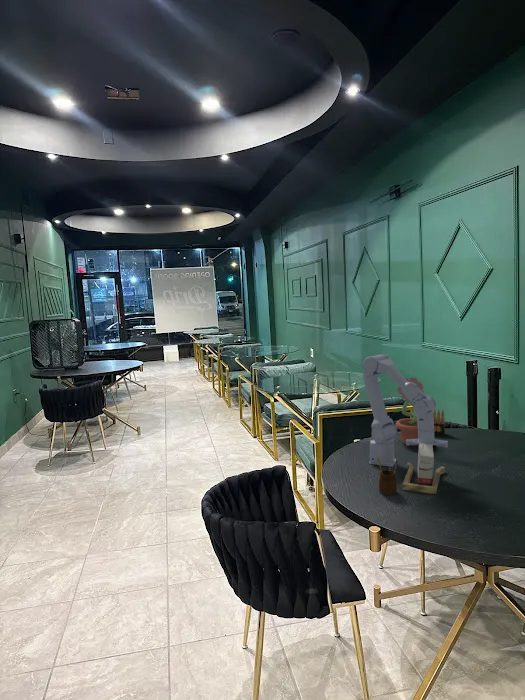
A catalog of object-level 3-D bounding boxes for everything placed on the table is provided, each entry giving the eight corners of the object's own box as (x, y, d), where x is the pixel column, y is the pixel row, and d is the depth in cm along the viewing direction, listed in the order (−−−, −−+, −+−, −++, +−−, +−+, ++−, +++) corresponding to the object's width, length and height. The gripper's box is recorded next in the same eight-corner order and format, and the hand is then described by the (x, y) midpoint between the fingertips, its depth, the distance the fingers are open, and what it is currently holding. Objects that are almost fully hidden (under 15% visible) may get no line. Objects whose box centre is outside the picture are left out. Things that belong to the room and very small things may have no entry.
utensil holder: (396, 496, 154) (396, 462, 152) (377, 494, 156) (376, 460, 154) (397, 489, 159) (397, 456, 158) (379, 487, 161) (378, 454, 160)
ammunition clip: (421, 433, 220) (420, 408, 218) (421, 431, 221) (421, 407, 220) (444, 434, 216) (444, 410, 214) (444, 433, 217) (444, 409, 216)
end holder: (398, 488, 159) (398, 483, 159) (407, 467, 178) (407, 462, 178) (440, 494, 153) (440, 489, 153) (445, 471, 172) (445, 466, 172)
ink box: (432, 485, 162) (434, 457, 157) (418, 483, 163) (419, 456, 159) (431, 470, 169) (432, 443, 165) (417, 469, 171) (417, 442, 166)
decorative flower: (391, 446, 203) (390, 380, 199) (394, 436, 216) (394, 375, 212) (426, 449, 197) (426, 381, 194) (428, 439, 210) (428, 375, 206)
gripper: (447, 426, 169) (449, 462, 170) (407, 425, 175) (408, 459, 176) (446, 432, 163) (448, 468, 164) (404, 430, 169) (406, 466, 170)
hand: (427, 464), depth 170 cm, fingers closed, pressing on ink box
